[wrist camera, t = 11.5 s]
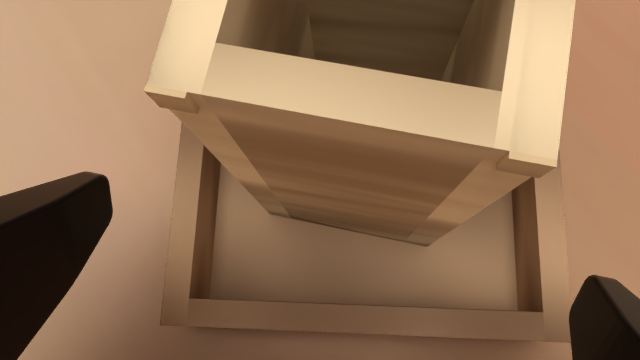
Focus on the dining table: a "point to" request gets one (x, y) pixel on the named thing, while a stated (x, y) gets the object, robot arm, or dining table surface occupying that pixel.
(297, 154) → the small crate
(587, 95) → the dining table surface
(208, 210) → the crate
